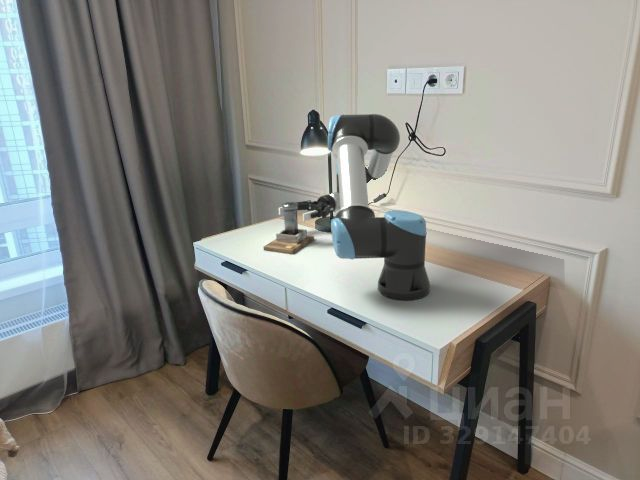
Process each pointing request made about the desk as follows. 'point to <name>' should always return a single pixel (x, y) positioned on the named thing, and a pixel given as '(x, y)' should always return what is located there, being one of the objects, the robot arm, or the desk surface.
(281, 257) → the desk surface
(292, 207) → the grey capped canister
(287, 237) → the base
